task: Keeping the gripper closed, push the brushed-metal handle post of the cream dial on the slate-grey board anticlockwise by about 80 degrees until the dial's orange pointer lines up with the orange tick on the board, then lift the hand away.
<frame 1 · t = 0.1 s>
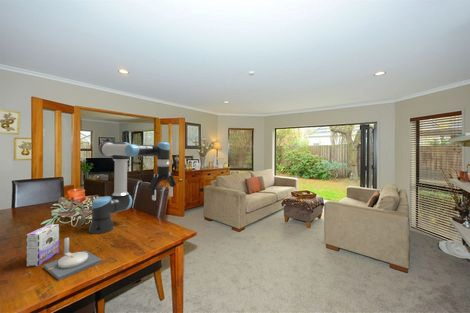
hand: (162, 198, 135), 28 cm above the table, fingers open, 13 cm apart
dial: (72, 251, 105), point 7 cm above the table, hinge at 0.0°
board: (73, 264, 104), on the table
candy box: (43, 259, 109), on the table
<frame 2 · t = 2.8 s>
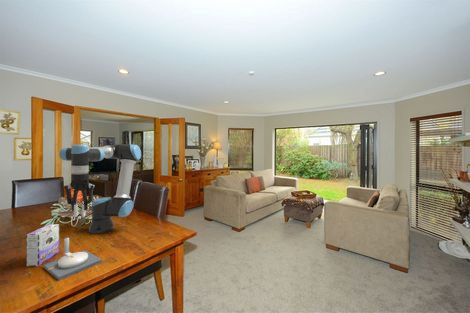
hand: (79, 216, 111), 23 cm above the table, fingers open, 3 cm apart
nothing on the table moved.
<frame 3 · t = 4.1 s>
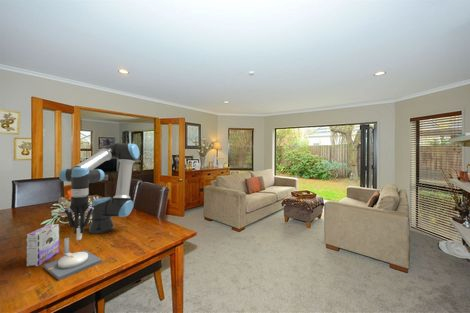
hand: (79, 239, 111), 10 cm above the table, fingers closed
nothing on the table moved.
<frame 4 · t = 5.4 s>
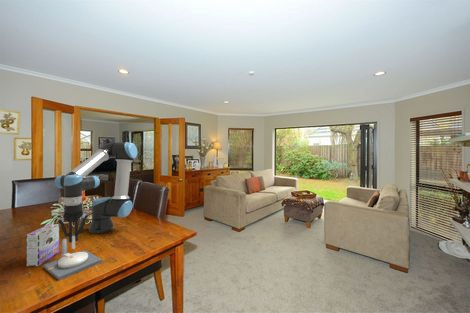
hand: (73, 247, 110), 6 cm above the table, fingers closed
dial: (71, 251, 105), point 7 cm above the table, hinge at 6.6°, touching gripper
everything else where it was.
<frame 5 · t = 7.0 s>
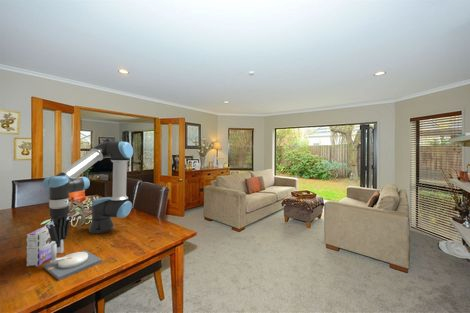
hand: (59, 252, 105), 6 cm above the table, fingers closed
dial: (69, 252, 103), point 7 cm above the table, hinge at 52.4°, touching gripper
everything else where it was.
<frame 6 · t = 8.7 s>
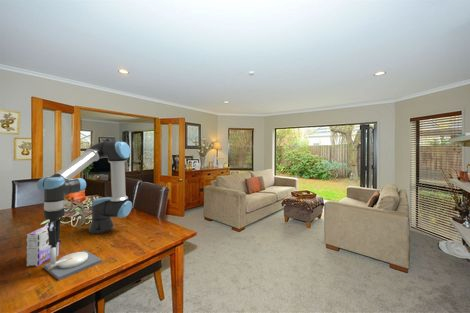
hand: (54, 256, 101), 6 cm above the table, fingers closed
dial: (69, 253, 103), point 7 cm above the table, hinge at 85.3°
everything else where it was.
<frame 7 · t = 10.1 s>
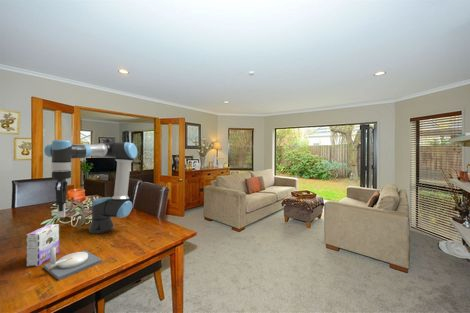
hand: (61, 216, 104), 24 cm above the table, fingers closed
nothing on the table moved.
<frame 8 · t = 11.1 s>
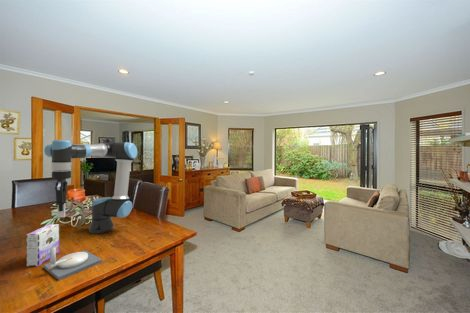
hand: (61, 216, 104), 24 cm above the table, fingers closed
nothing on the table moved.
at the end: dial at +85° (first picture: +0°); dial touching nothing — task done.
